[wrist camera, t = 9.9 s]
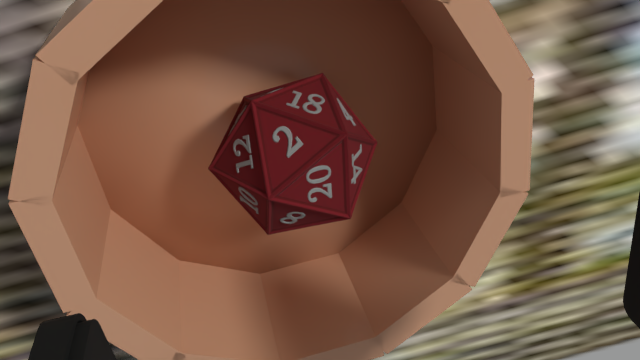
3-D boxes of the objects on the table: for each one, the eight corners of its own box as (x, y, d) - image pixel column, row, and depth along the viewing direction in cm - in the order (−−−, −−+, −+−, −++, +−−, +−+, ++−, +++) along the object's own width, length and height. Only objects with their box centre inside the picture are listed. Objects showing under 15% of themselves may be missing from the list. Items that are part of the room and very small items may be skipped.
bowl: (440, -135, 15) (543, -135, 11) (453, 226, 21) (524, 314, 17) (-21, -51, 14) (-101, -14, 10) (132, 312, 19) (123, 432, 15)
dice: (358, 170, 18) (403, 242, 15) (213, 194, 17) (225, 276, 14) (354, 51, 16) (405, 102, 13) (192, 72, 15) (200, 131, 12)
